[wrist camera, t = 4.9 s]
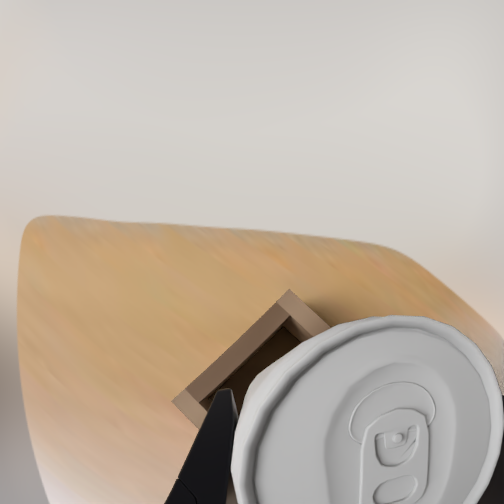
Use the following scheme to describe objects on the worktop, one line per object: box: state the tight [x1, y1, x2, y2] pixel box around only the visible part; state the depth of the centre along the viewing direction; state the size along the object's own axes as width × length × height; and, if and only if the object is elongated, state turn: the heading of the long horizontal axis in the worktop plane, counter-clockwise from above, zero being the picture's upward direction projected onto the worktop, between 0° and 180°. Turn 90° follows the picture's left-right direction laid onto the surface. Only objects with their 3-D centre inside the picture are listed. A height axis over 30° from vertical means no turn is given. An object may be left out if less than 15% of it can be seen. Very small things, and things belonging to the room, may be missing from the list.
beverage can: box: [231, 315, 504, 504], centre depth 9 cm, size 5×5×12 cm
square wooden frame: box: [172, 289, 331, 430], centre depth 16 cm, size 9×9×4 cm
